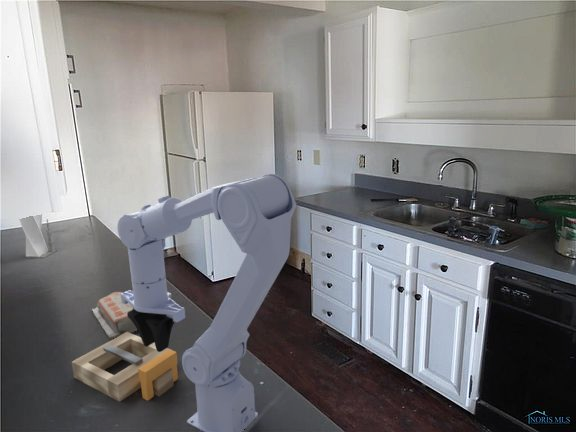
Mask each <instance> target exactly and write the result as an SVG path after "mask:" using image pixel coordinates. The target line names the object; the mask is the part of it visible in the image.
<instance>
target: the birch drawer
mask: <svg viewBox="0 0 576 432" xmlns="http://www.w3.org/2000/svg"><path fill="white" fill-rule="evenodd" d="M169 349H170V350H172V349H171V348H169V347H168V348H166V349H164V350H163V351H161V352H158V351H157V349H156V346H155V342H154V343H152V344H151V345H149V346H147V347H146V346H144V344H143V341H142V339H141V337H140V335H136V334H134V333H129V332H126V333H124V334H122V335H120V336H119V337H117V338H114V339H110V341H107V342H106V343H104V344H102V345H99V346H98V347H96V348H94V349H92V350H90V351H89V352H87V353H86V354H83V355H81V356H80V357H77V358H76V359H74V360H73V361H71V366H72V372H73V377H74V378H75V380H76V379H77V380H78V381H79V382H82V383H83V384H85V385H88V386H89V387H91V388H93V389H94V390H97V391H98V392H100V393H102V394H104V395H106V396H108V397H110V398H111V399H114V400H115V401H117V402H119V403H120V402H122V401H123V400H125V399H126V398H127V397H129V396H131V395H132V394H133V393H135V392H137V391H139V390H140V389H141V382H140V381H139V373H138V369H139V368H140V367H142V366H143V365H145V364H147V363H148V362H150V361H151V360H153V359H154V358H156V357H158V356H159V355H161V354H162V353H164V352H165V351H167V350H169ZM122 360H123V361H126V362H128V363H130V365H128V366H126V367H125V368H124V369H122V370H120V371H118V372H117V373H115V374H112V373H110V372H108V371H106V369H108V368H110V367H112V366H114V365H115V364H117V363H119V362H120V361H122Z"/></svg>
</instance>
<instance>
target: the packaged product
mask: <svg viewBox="0 0 576 432" xmlns="http://www.w3.org/2000/svg"><path fill="white" fill-rule="evenodd" d="M122 293H124V292H123V291H114V292H112V293H110V294H108V295H106V296H104V297H102V298H100V299H98V300H97V303H96V307H95V308H91V311H93V312H92V314H93V315H94V317H95V318H96V319H97V321H98V323H99V324H100V326H101V328H102V329H103V330H104V331H105V333H106V335H107V336H108V338H109V340H113V338H114V339H115V338H116V337H119V336H120V335H122V334H124V333H126V332H129V333H131V332H133V333H135V332H134V331H136V332H138V331H137V328H136V326H135V325H134V323H133V322H132V321H131V320H130V318H129V317H128V316H127V313H128V312H129V311H131V310H133V307H132V306H131V305H130V304H129V303H127V304H123V303H122V301H121V294H122ZM131 334H132V333H131Z"/></svg>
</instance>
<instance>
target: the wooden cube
mask: <svg viewBox="0 0 576 432" xmlns="http://www.w3.org/2000/svg"><path fill="white" fill-rule="evenodd" d="M152 384H153V393H154V396H157V397H160V396H162V395H164V394H165V393H166V392H167V391H169V390H170V389H171V388H173V386H174V382H173V374H172V369H169V370H168V371H166V372H165V373H163V374H162V375H160V376H159V377H157V378H156V379H154V380H153V381H152Z"/></svg>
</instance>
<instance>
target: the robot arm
mask: <svg viewBox="0 0 576 432" xmlns="http://www.w3.org/2000/svg"><path fill="white" fill-rule="evenodd" d="M157 201H158V203H155V204H147V205H144V206H141V208H140V209H141V210H140V211H137V212H132V213H125V214H123V216H121V217H120V218H119V220H118V222H117V234H118V237H119V239H120V241H121V242H122V244H123V245H124V246H125V247H127V252H128V262H129V270H130V271H129V272H130V277H131V285H132V286H131V287H132V290H131V289H129V290H126V291H124V292H123V293H122V294H121V301H122V303H123V304H127V303H129V304H130V305H131V306H132V307H133V310H131V311H129V312H128V313H127V316H128V317H129V318H130V320H131V321H132V322H133V323H134V325H135V326H136V328H137V330H138V331H137V332H138V334H139V337H141V339H142V341H143V344H144V346H146V347H147V346H149V345H151V344H152V343H155V346H156V349H157V351H158V352H161V351H163V350H164V349H166V348H168V349H169V345H170V339H171V338H170V337H171V334H172V329H173V327H174V324H175V323H179V322H181V321H183V320H184V319H186V309H185V307H182V306H181V305H179V304H178V303H177V302H176V301H174V300H173V299H172V293H171V292H169V291H168V287H167V277H166V276H167V275H166V268H165V267H166V266H165V255H164V249H165V247H167V245H166V239H167V238H169V237H172V236H176V235H178V234H180V233H181V234H182V233H184V232H186V231H188V229H189V228H190V226H191V225H192V222H193V220H195V219H198V218H202V217H204V216H207V215H210V214H214V217H215V220H217V221H222V223H223V224H224V226H225V227H226V229H227V230H228V232H229V233H230V235H231V236H232V238H233V240H234V241H235V243H236V244H237V246H238V248H239V249H240V251H241V252H242V253H244V254H245V257H244V259H243V260H242V263H241V265H240V267H239V268H238V271H237V273H236V275H235V276H234V279H233V281H232V283H231V285H230V287H229V288H228V290H227V293H226V294H225V297H224V298H223V300H222V302H221V304H220V306H219V309H218V310H217V313H216V314H215V316H214V318H213V320H212V322H211V324H210V326H209V327H208V328H207V329H206V330H205V331H204V332H203V333H202V334H201V335H200V337H199V338H197V340H196V341H195V342H194V344H193V345H192V347H190V348H188V349H186V350H185V351H184V352H183V354H182V357H181V363H182V364H181V365H182V368H183V372H184V374H185V375H186V377H187V378H188V379H189V381H191V382H192V383H193V384H194V386H195V397H196V398H195V399H196V408H197V411H196V412H195V413H194V414H193V415H192V416H191V417H189V418H188V419H187V420H186V423H187V424H188V425H191V426H193V427H194V428H197V429H198V430H200V431H203V432H242V431H243V432H244V431H245V430H246V429H247V428H248V427H249V426H250V425H251V424H252V423H253V422H254V421H255V420H254V419H255V418H256V419H257V418H258V417H259V413H258V411H256V403H255V387H254V385H253V382H251V381H249V380H248V379H246V378H245V377H244V376H243V375H242V374H241V372H240V370H239V368H240V366H241V359H243V357H244V356H245V355H246V352H247V342H248V339H249V337H250V333H249V331H248V328H249V326H250V325H251V323H252V322H253V320H254V318H255V316H256V315H257V312H258V310H259V309H260V307H261V305H262V304H263V302H264V300H265V298H266V297H267V296H268V293H269V291H270V290H271V288H272V287H273V284H274V283H275V281H276V279H277V277H278V275H279V274H280V272H281V270H282V269H283V267H284V265H285V263H286V261H287V260H288V258H289V256H290V251H291V248H290V247H291V231H292V230H291V228H292V227H291V226H292V217H293V215H294V213H295V210H296V208H297V202H296V199H295V198H294V194H293V192H292V189H291V186H290V185H289V183H288V181H287V180H286V179H284V177H283V176H281V175H279V174H276V173H266V174H265V175H263V176H261V177H251V178H247V179H243V180H237V181H232V182H228V183H224V184H223V183H222V184H220V185H216V186H212V187H211V188H209V189H206V190H203V191H201V192H199V193H198V194H196V195H193V196H192V197H191V196H190V197H189V198H187V199H185V200H183V199H182V198H179V197H176V196H175V197H171V196H170V195H165V196H161V197H160V198H158V199H157ZM253 420H254V421H253ZM251 422H252V423H251ZM250 423H251V424H250ZM249 424H250V425H249ZM248 425H249V426H248ZM247 426H248V427H247ZM245 428H246V429H245ZM244 429H245V430H244Z"/></svg>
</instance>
